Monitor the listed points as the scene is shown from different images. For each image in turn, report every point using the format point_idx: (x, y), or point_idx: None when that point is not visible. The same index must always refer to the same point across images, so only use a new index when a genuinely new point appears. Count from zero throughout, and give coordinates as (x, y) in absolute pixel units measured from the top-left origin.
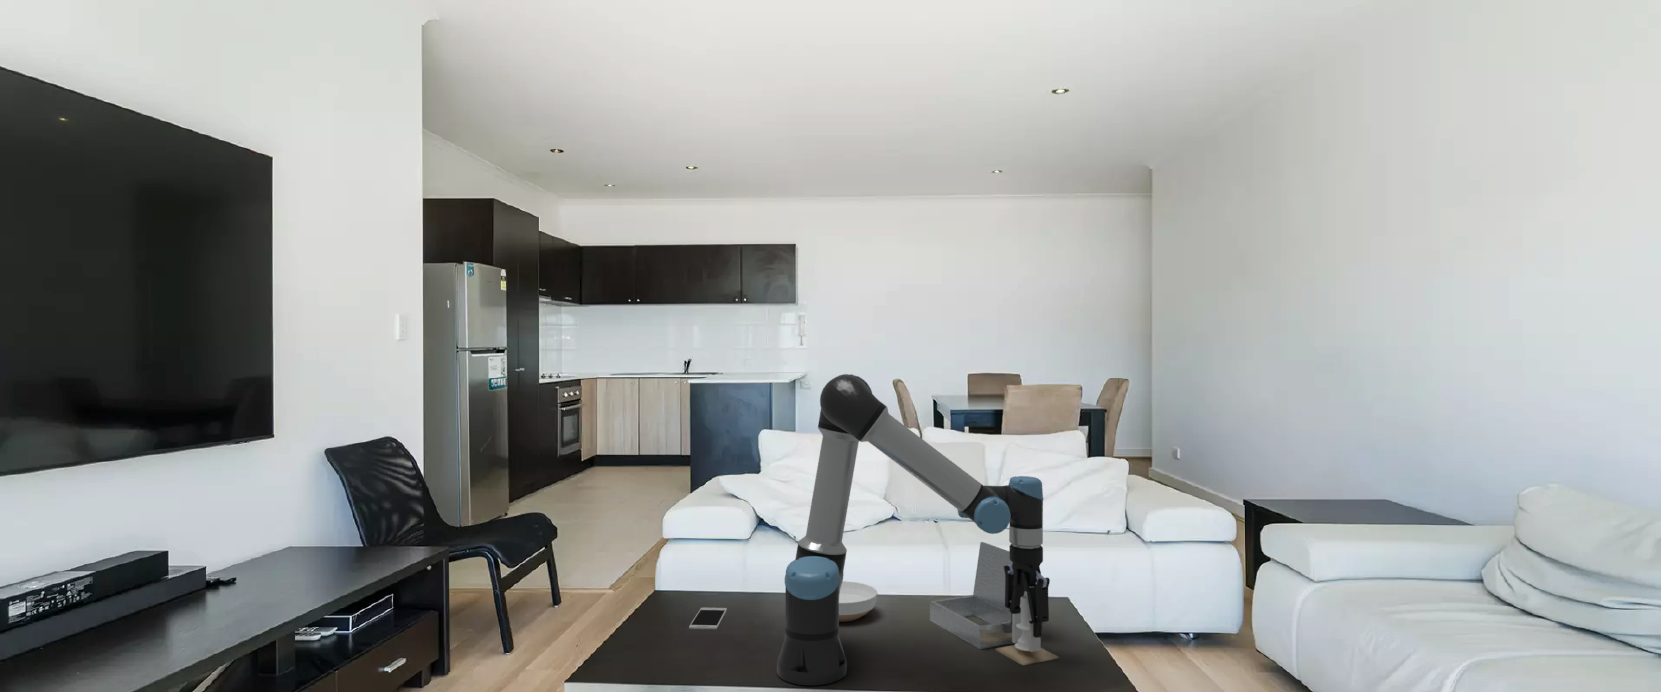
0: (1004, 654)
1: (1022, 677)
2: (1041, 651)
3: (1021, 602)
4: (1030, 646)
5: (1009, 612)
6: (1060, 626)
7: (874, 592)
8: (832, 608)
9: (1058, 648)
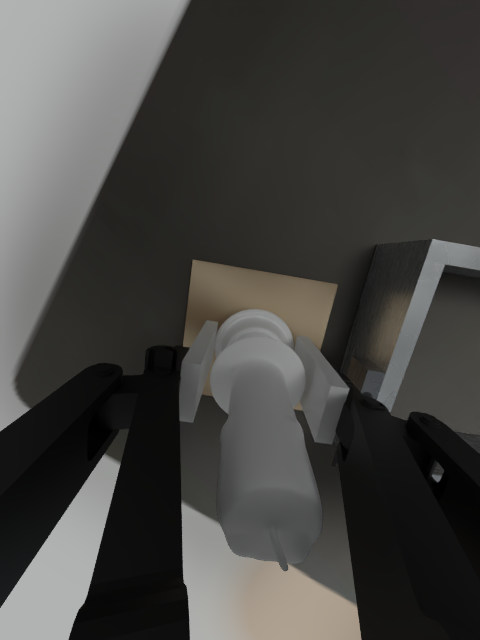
0: (288, 276)
1: (122, 179)
2: None
3: (284, 446)
4: (207, 325)
5: None
6: (334, 553)
7: None
8: None
9: None
